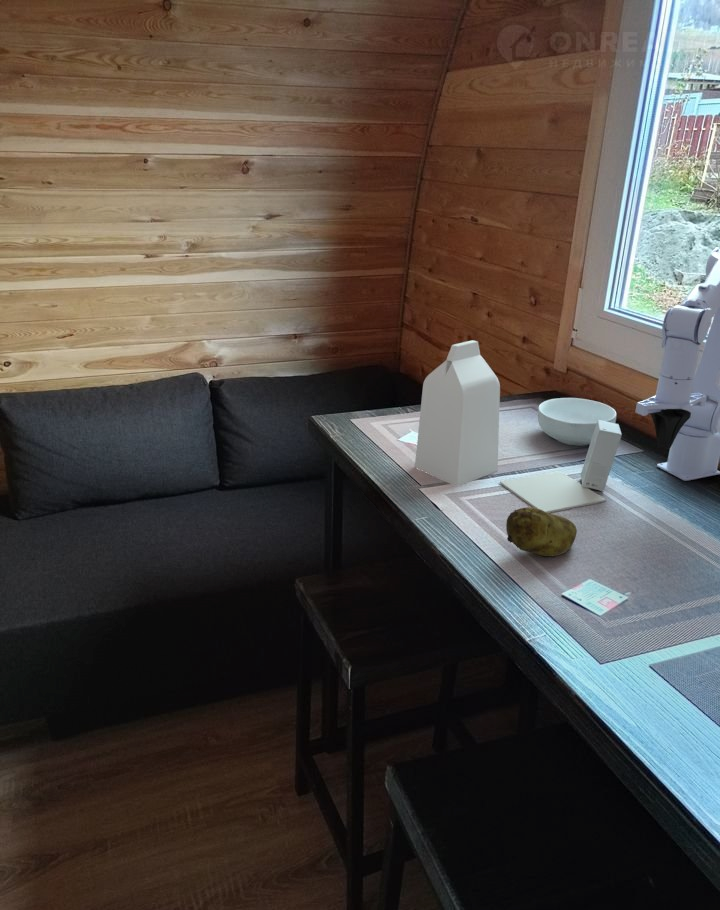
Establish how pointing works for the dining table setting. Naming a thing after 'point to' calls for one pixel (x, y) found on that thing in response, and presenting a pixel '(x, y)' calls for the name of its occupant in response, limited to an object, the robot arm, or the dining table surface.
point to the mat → (552, 491)
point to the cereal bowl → (573, 419)
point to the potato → (540, 531)
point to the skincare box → (600, 455)
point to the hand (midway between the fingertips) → (663, 446)
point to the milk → (459, 418)
